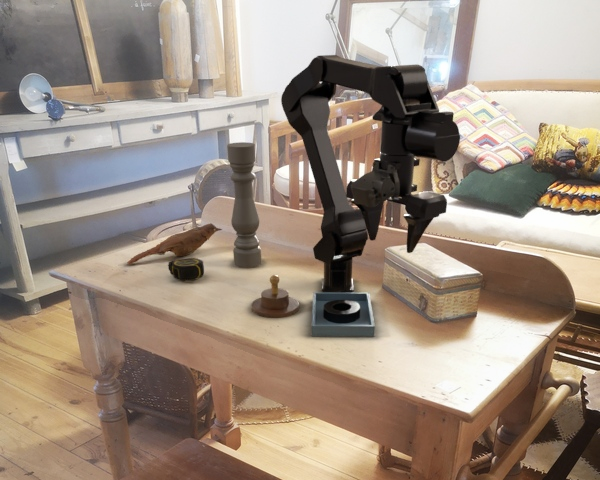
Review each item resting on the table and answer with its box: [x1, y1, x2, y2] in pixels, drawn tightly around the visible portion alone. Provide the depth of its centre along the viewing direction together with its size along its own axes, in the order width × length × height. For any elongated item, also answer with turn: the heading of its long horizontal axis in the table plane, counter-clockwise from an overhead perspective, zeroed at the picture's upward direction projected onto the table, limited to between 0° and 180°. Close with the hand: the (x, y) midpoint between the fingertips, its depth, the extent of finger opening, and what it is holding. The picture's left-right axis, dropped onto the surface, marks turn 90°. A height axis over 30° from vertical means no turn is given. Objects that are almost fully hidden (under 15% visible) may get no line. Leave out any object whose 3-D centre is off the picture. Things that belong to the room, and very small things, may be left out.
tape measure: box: [167, 257, 205, 282], centre depth 126 cm, size 7×7×4 cm
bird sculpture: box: [126, 222, 223, 266], centre depth 139 cm, size 7×25×5 cm, turn 127°
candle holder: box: [226, 141, 262, 269], centre depth 128 cm, size 6×6×25 cm
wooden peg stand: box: [251, 274, 300, 319], centre depth 111 cm, size 9×9×6 cm
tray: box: [311, 291, 376, 338], centre depth 108 cm, size 15×11×2 cm
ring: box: [323, 300, 360, 323], centre depth 108 cm, size 7×7×2 cm
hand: (390, 246), depth 106 cm, fingers open, 9 cm apart
